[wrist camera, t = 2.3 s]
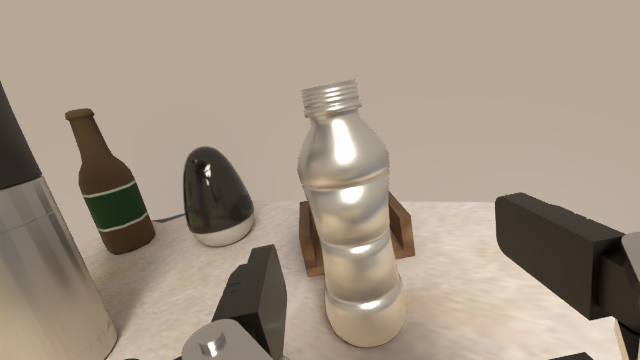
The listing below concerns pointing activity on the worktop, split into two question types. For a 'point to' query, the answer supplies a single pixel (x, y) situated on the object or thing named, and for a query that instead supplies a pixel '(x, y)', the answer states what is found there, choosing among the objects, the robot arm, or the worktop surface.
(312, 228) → the u rest
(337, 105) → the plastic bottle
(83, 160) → the beer bottle
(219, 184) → the black egg-shaped dispenser
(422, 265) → the worktop surface
